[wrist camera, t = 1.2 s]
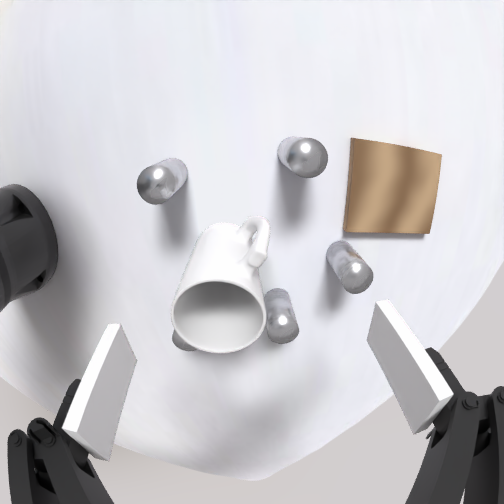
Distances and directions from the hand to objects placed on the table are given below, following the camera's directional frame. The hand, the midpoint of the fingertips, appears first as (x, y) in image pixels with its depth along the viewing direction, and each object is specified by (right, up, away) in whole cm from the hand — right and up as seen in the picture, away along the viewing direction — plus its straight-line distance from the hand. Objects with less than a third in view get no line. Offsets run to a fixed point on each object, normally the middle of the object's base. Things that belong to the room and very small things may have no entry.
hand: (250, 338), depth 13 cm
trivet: (+16, +11, +14) cm, 24 cm away
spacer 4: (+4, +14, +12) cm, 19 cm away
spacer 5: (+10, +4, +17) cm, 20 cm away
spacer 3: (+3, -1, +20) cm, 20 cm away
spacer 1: (-8, +12, +13) cm, 19 cm away
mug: (-2, +6, +16) cm, 17 cm away
